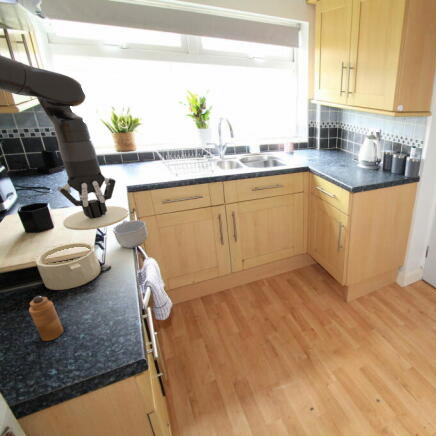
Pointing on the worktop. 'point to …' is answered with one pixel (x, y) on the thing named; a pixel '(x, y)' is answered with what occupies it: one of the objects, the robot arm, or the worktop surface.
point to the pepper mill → (45, 318)
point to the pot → (68, 268)
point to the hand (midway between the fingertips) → (96, 215)
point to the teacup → (131, 233)
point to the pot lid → (95, 217)
